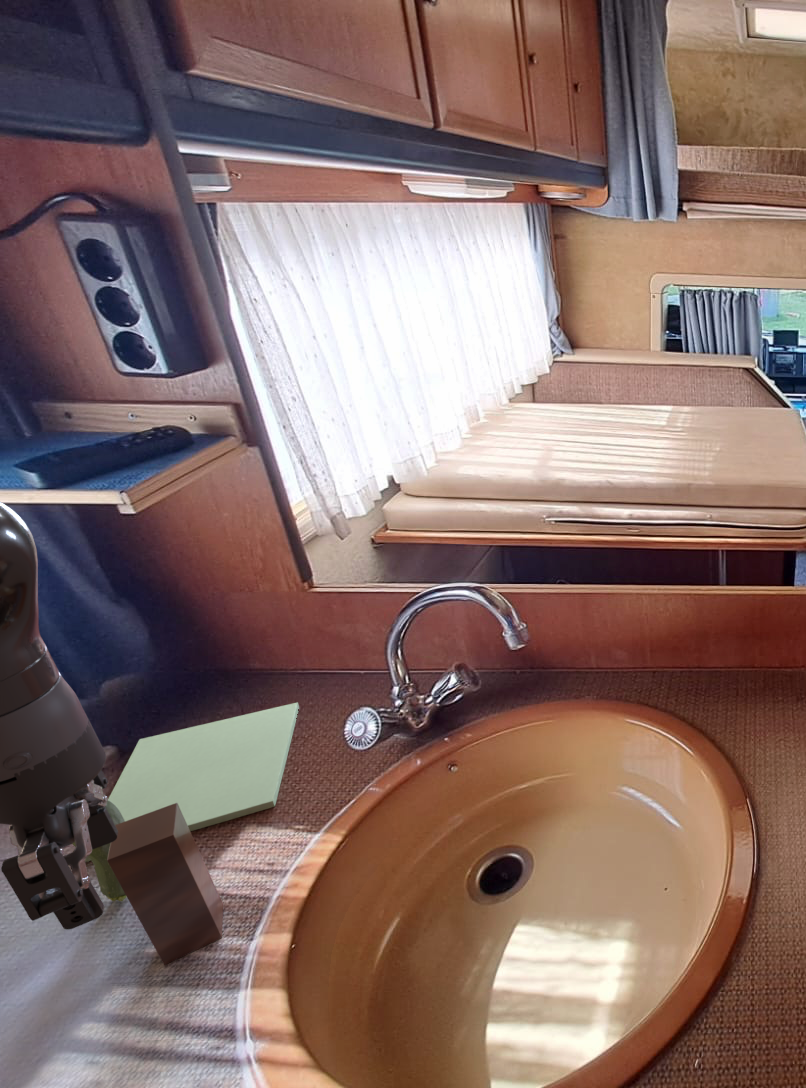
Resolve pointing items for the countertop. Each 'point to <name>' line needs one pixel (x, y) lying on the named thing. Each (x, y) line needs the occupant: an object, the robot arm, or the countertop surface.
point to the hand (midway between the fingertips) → (94, 879)
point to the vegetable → (102, 867)
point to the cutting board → (209, 768)
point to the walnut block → (167, 882)
